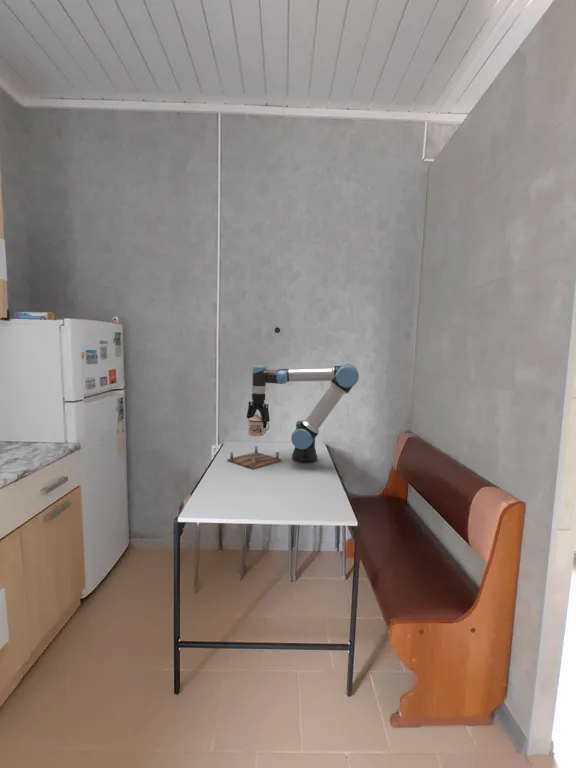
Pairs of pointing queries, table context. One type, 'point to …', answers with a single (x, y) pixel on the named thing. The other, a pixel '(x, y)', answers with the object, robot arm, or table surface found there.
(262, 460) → the stub plate
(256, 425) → the teacup with lid
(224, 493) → the table surface
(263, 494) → the table surface
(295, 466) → the table surface
